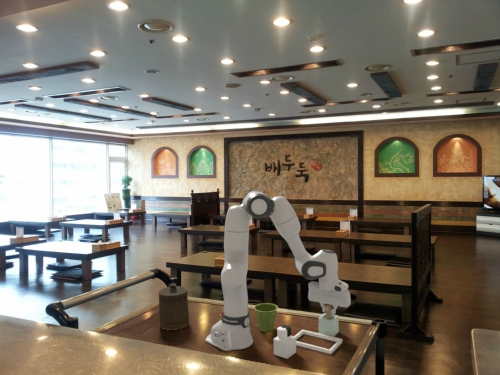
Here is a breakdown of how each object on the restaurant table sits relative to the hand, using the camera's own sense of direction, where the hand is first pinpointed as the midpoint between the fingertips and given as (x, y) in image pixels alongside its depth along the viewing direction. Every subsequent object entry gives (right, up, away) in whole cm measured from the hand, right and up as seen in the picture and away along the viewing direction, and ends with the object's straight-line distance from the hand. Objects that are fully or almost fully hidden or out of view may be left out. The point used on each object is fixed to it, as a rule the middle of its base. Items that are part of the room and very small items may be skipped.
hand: (329, 312), depth 195 cm
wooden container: (-76, -12, +19) cm, 80 cm away
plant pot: (-29, -12, +10) cm, 33 cm away
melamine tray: (-8, -12, -8) cm, 16 cm away
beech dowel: (0, -10, +1) cm, 10 cm away
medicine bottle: (-22, -13, -15) cm, 30 cm away
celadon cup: (0, -11, +1) cm, 11 cm away
